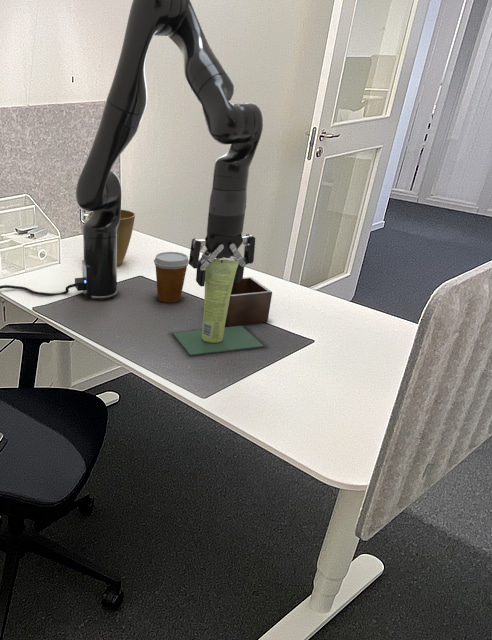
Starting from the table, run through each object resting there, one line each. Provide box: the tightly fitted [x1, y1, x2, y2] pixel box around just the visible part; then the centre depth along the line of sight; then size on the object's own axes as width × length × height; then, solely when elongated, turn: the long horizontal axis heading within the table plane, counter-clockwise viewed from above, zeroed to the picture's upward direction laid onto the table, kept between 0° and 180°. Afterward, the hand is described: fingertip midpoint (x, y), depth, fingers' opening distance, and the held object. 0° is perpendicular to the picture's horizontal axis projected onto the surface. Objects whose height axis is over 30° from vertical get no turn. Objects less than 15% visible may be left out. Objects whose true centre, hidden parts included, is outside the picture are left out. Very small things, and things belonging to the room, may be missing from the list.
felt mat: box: [172, 325, 264, 357], centre depth 136 cm, size 18×12×1 cm, turn 102°
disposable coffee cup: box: [153, 251, 189, 303], centre depth 157 cm, size 10×10×12 cm
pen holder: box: [225, 276, 273, 327], centre depth 147 cm, size 12×12×8 cm
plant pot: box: [87, 209, 136, 267], centre depth 184 cm, size 15×15×16 cm
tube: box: [201, 258, 239, 343], centre depth 131 cm, size 6×5×20 cm
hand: (218, 283), depth 128 cm, fingers open, 8 cm apart
